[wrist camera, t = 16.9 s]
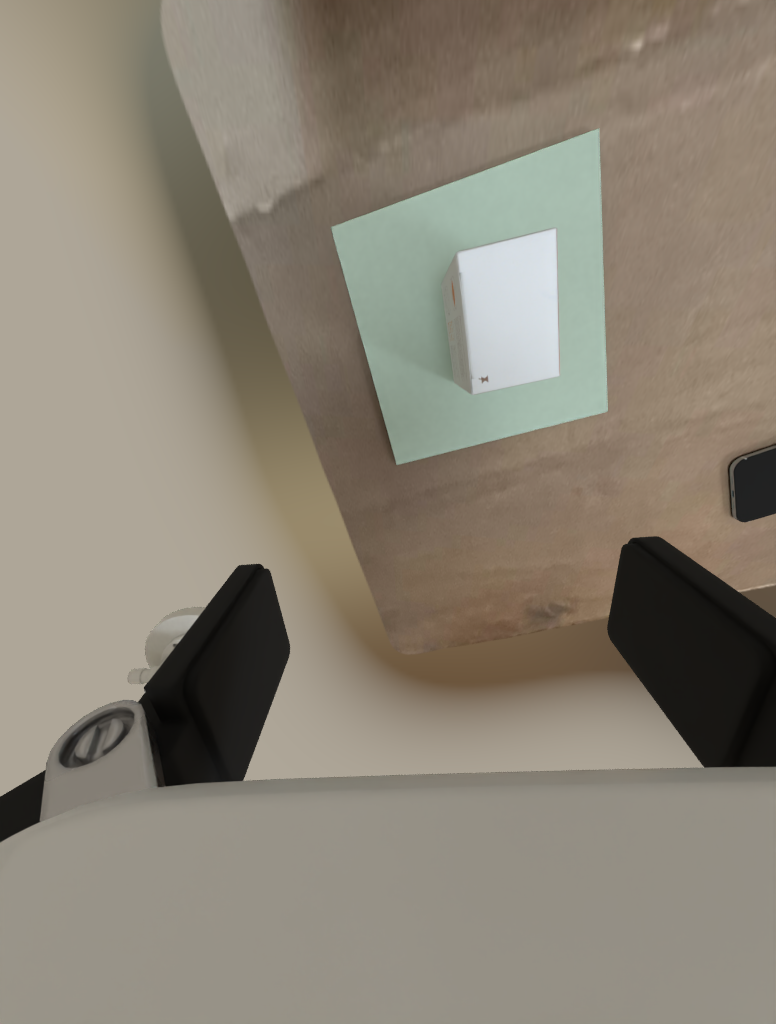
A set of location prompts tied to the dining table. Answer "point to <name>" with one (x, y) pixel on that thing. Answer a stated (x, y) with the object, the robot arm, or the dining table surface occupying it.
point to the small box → (504, 312)
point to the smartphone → (754, 485)
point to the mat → (420, 309)
